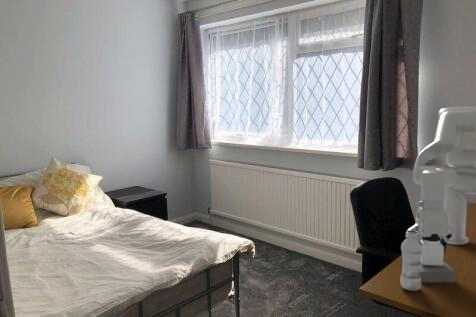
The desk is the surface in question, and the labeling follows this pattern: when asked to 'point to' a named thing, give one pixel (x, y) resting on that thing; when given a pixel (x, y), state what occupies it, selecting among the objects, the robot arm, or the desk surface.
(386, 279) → the desk surface
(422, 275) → the base block
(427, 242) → the medicine bottle
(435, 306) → the desk surface
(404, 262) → the plastic bottle
